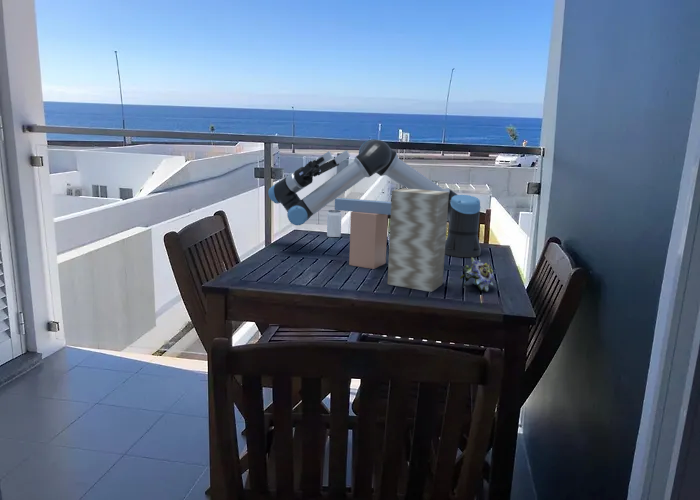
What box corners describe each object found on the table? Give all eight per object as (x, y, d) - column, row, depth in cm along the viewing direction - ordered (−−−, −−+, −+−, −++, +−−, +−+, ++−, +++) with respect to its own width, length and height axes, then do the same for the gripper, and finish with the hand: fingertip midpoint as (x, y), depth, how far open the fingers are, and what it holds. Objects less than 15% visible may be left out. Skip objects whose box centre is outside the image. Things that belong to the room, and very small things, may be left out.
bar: (334, 209, 191) (334, 198, 190) (338, 208, 195) (339, 197, 194) (397, 215, 183) (398, 204, 182) (401, 213, 186) (401, 202, 185)
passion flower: (483, 307, 166) (483, 283, 157) (452, 294, 171) (451, 271, 162) (499, 282, 171) (500, 258, 162) (469, 271, 176) (468, 246, 168)
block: (349, 265, 191) (350, 212, 187) (361, 259, 200) (363, 208, 196) (373, 269, 187) (376, 214, 183) (385, 263, 196) (387, 211, 191)
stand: (387, 284, 168) (391, 190, 162) (399, 277, 177) (404, 188, 171) (431, 291, 162) (438, 194, 155) (442, 284, 170) (449, 191, 164)
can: (341, 235, 246) (342, 210, 243) (340, 238, 240) (340, 212, 237) (327, 235, 247) (328, 209, 244) (325, 237, 240) (326, 211, 238)
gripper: (277, 172, 200) (318, 145, 190) (312, 169, 222) (351, 144, 211) (285, 190, 200) (327, 164, 189) (320, 185, 221) (359, 161, 211)
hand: (340, 153), depth 200 cm, fingers open, 13 cm apart
